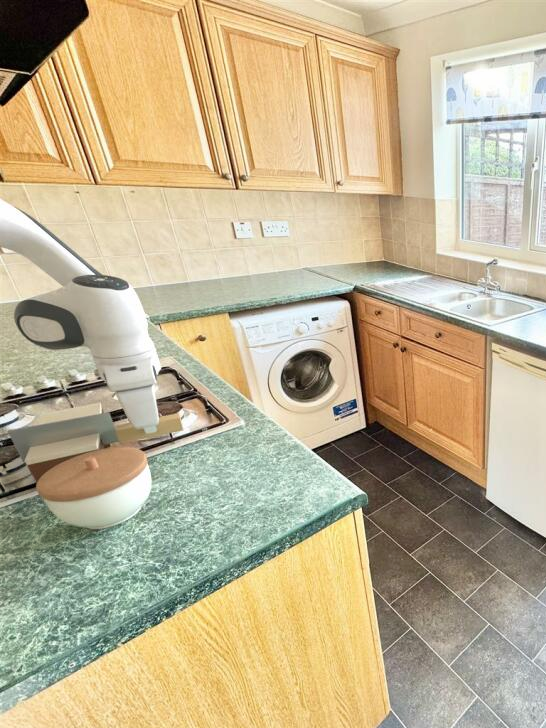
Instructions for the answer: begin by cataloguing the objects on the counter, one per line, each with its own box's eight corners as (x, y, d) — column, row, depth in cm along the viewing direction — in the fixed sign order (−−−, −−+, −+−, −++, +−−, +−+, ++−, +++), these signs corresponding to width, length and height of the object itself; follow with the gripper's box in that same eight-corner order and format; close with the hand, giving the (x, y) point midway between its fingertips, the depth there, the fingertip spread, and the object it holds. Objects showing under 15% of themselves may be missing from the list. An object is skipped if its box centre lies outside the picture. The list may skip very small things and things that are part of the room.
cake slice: (39, 488, 74) (24, 460, 71) (43, 474, 77) (29, 447, 74) (107, 471, 79) (96, 444, 76) (109, 458, 82) (98, 433, 79)
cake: (47, 461, 80) (34, 435, 78) (51, 439, 87) (39, 414, 84) (110, 446, 86) (100, 420, 83) (109, 426, 92) (100, 402, 90)
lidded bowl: (126, 542, 64) (100, 484, 60) (35, 543, 63) (2, 484, 58) (178, 488, 76) (160, 437, 71) (102, 488, 74) (79, 436, 70)
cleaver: (21, 465, 74) (5, 433, 71) (24, 458, 75) (9, 427, 73) (183, 430, 87) (175, 402, 84) (182, 425, 89) (174, 398, 86)
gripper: (105, 350, 84) (127, 410, 89) (107, 387, 70) (132, 456, 76) (146, 345, 87) (164, 403, 93) (155, 379, 74) (176, 445, 80)
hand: (150, 427), depth 84 cm, fingers closed on cleaver, 2 cm apart
